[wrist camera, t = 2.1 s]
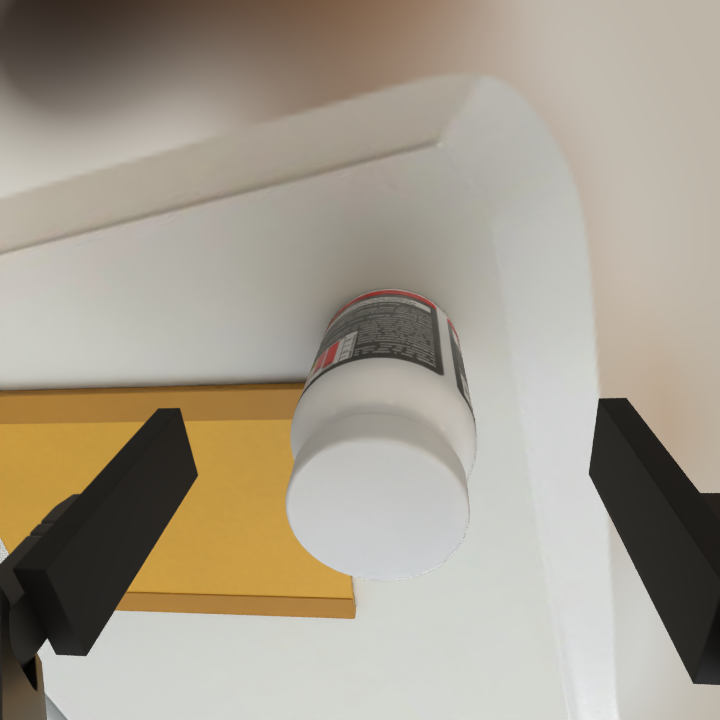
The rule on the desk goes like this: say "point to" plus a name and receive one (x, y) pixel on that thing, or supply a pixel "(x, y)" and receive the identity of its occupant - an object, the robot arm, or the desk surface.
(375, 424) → the pill bottle
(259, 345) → the desk surface
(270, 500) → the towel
